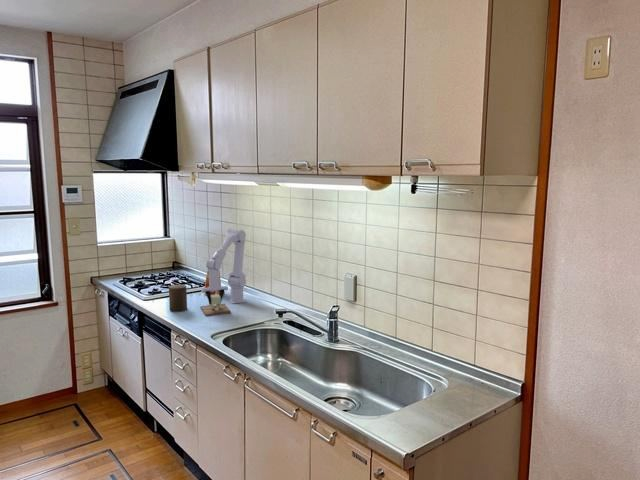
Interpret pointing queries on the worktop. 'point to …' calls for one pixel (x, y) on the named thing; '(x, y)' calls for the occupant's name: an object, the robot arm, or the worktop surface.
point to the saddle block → (215, 300)
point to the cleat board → (212, 312)
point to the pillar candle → (177, 298)
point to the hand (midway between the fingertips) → (215, 303)
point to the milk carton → (208, 284)
